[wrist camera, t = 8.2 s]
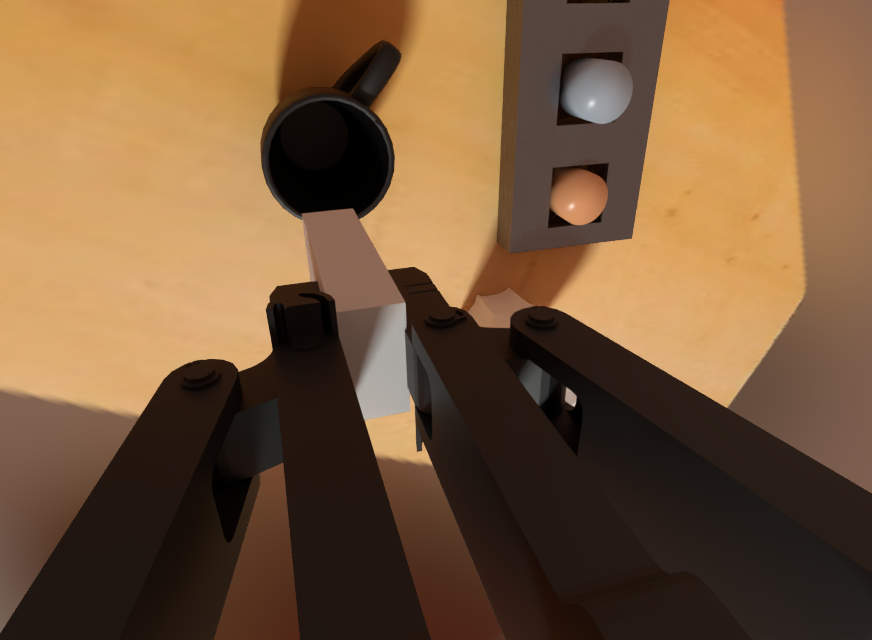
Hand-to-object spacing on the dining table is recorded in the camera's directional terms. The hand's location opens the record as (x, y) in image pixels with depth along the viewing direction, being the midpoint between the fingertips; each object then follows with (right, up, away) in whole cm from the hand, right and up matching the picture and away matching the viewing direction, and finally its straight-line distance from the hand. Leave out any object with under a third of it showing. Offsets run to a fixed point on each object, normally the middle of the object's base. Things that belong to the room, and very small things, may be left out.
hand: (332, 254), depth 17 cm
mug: (-5, +14, +26) cm, 30 cm away
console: (+14, +17, +30) cm, 38 cm away
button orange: (+15, +10, +34) cm, 38 cm away
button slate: (+15, +17, +29) cm, 36 cm away
